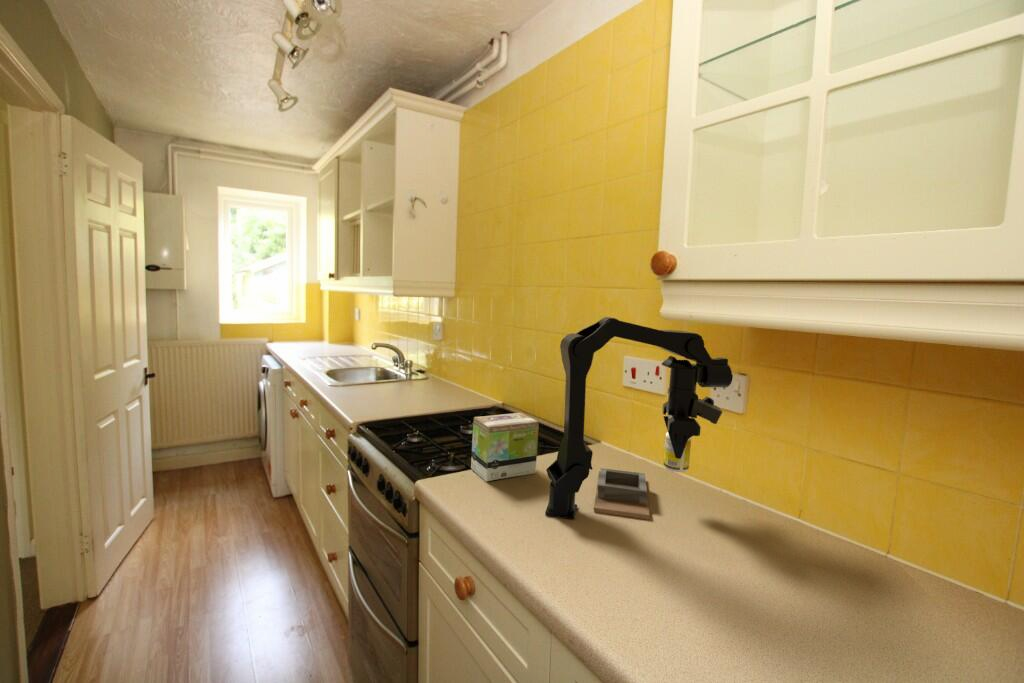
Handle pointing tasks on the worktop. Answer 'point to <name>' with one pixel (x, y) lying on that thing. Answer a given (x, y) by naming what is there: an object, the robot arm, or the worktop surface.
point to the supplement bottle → (671, 460)
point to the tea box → (504, 446)
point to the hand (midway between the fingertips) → (676, 453)
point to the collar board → (622, 494)
